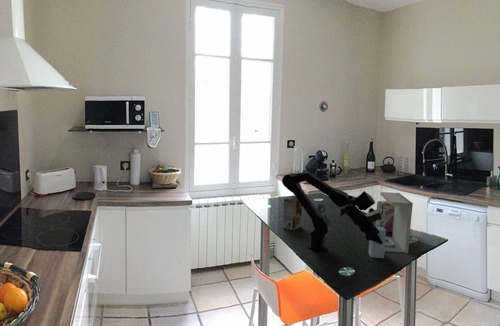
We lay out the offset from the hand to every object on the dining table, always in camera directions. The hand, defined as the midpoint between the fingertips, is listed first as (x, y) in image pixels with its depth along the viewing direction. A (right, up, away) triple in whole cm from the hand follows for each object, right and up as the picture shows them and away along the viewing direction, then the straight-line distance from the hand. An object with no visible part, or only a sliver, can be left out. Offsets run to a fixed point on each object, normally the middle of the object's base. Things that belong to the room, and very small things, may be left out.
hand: (380, 241), depth 163 cm
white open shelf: (+8, -5, +15) cm, 17 cm away
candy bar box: (+15, -2, +34) cm, 37 cm away
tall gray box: (-2, -6, +1) cm, 7 cm away
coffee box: (-35, 0, +37) cm, 51 cm away
